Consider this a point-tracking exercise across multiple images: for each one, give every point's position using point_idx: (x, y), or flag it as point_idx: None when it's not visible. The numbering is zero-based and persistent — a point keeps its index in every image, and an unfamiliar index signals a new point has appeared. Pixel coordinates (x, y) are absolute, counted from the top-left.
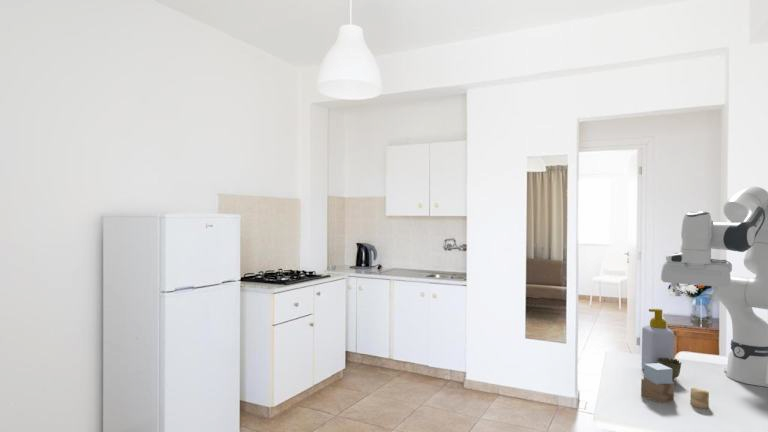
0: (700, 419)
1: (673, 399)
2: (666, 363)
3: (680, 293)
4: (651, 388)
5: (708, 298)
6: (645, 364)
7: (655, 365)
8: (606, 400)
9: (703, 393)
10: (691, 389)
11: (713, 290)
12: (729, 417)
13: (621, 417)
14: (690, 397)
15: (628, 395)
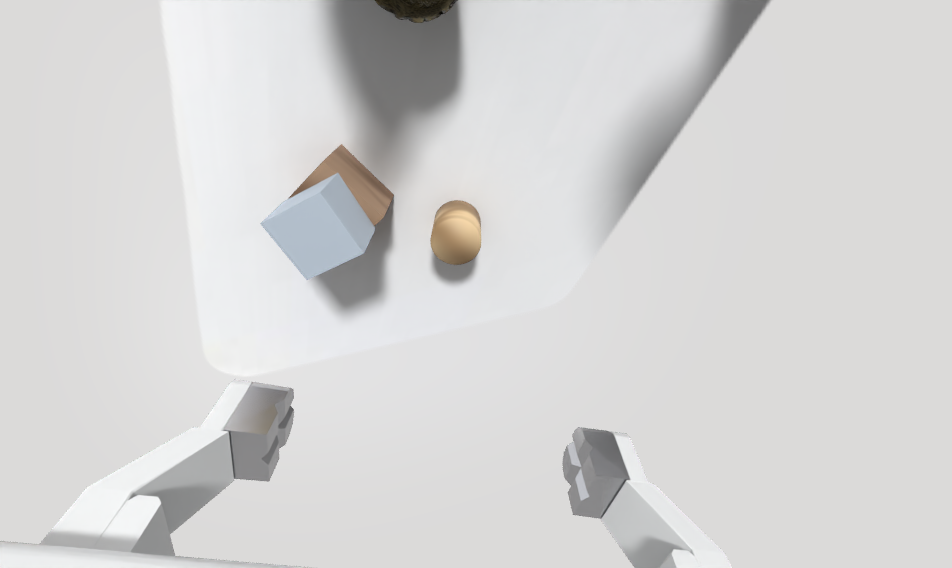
0: (429, 308)
1: (393, 195)
2: (389, 8)
3: (274, 458)
4: None
5: (564, 466)
6: (265, 229)
7: (304, 230)
8: (203, 256)
9: (459, 261)
10: (433, 237)
11: (656, 554)
12: (507, 279)
13: (251, 342)
14: (433, 225)
15: (260, 198)
